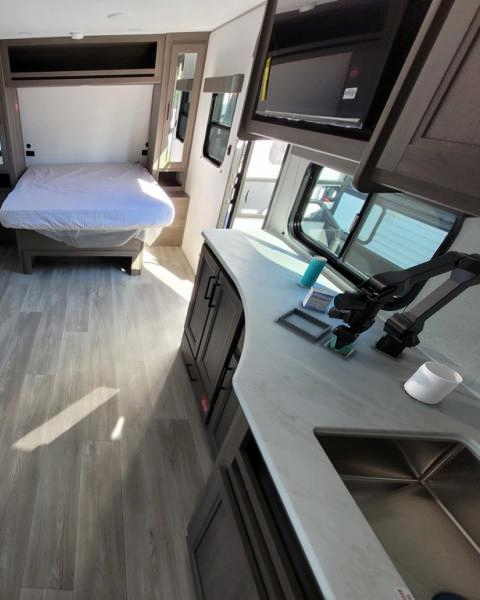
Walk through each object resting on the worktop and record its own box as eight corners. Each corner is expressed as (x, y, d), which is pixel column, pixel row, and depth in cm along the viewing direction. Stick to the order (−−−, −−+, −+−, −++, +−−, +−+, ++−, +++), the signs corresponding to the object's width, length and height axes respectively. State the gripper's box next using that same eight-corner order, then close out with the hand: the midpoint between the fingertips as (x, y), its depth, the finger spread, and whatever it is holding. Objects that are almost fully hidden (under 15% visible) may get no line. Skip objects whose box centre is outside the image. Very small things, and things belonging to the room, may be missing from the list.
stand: (354, 351, 112) (361, 341, 109) (345, 359, 108) (353, 348, 105) (331, 339, 117) (338, 329, 114) (322, 346, 113) (329, 336, 110)
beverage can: (308, 283, 151) (323, 255, 143) (314, 289, 147) (330, 261, 138) (296, 282, 152) (310, 254, 143) (302, 288, 147) (317, 260, 138)
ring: (352, 349, 112) (357, 343, 110) (345, 356, 109) (349, 350, 107) (333, 339, 116) (337, 333, 114) (325, 345, 113) (329, 339, 111)
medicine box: (303, 307, 133) (312, 291, 128) (302, 302, 137) (311, 286, 132) (324, 313, 131) (334, 296, 126) (323, 307, 134) (333, 291, 129)
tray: (329, 330, 121) (332, 326, 119) (313, 342, 115) (317, 337, 113) (292, 312, 130) (295, 307, 129) (276, 322, 124) (279, 317, 123)
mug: (396, 372, 104) (417, 350, 98) (428, 382, 101) (451, 360, 95) (406, 397, 95) (429, 375, 89) (441, 409, 92) (468, 387, 86)
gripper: (350, 290, 112) (328, 323, 121) (327, 306, 103) (305, 340, 112) (387, 306, 105) (361, 340, 114) (366, 324, 96) (340, 359, 105)
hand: (341, 344), depth 111 cm, fingers open, 9 cm apart
